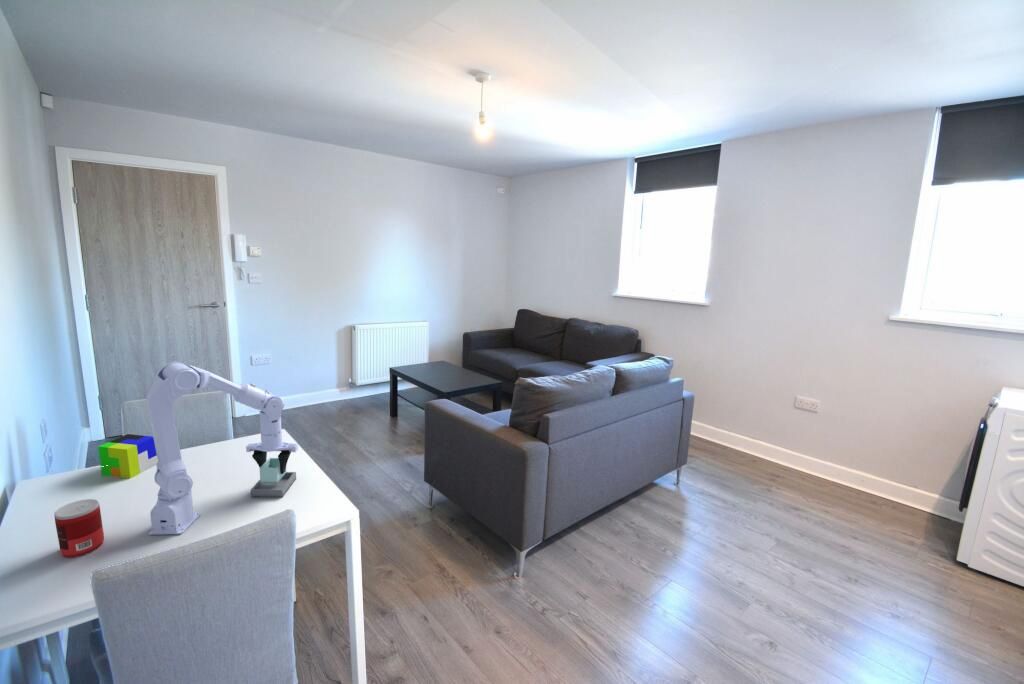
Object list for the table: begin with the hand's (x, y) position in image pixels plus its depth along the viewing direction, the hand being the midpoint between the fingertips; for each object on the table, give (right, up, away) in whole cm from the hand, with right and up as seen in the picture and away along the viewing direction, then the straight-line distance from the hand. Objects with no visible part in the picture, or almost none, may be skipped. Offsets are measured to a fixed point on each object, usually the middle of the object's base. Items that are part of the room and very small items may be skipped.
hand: (273, 472), depth 141 cm
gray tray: (0, -5, +1) cm, 5 cm away
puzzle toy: (-51, -1, +7) cm, 52 cm away
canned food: (-31, -10, -30) cm, 44 cm away
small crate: (0, -2, 0) cm, 2 cm away
